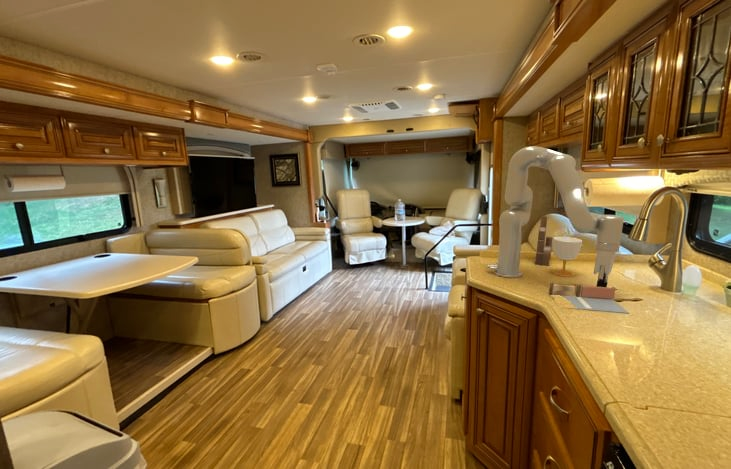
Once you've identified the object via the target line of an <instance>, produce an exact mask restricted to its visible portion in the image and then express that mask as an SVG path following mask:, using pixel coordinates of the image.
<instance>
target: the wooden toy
mask: <svg viewBox="0 0 731 469" xmlns="http://www.w3.org/2000/svg"><path fill="white" fill-rule="evenodd" d="M547 222H548V216H547V215H542V216H541V217H540V225H539V227H538V233H537V235H538V236H537V245H536V253H535V260H534V261H535V263H534V265H536V266H537V265H538V266H545V267H550V261H551V258H552V251H553V238H554V237H553V236H546V234H547V226H548V223H547Z"/></svg>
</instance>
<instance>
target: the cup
mask: <svg viewBox="0 0 731 469" xmlns="http://www.w3.org/2000/svg"><path fill="white" fill-rule="evenodd" d="M582 243H583V240H582V239H579V238H576V237H572V236H571V237H569V236H554V237H553V241H552V251H553V254H554V256H555V257H556V258H557V259H559V260H561V261H562V262H563V264H562V269H561V270H553V271H552V273H553V275H556V276H558V277H564V278H565V277H566V278H573V277H574V276H575V274H574V273H573V272H571V271H567V270H566V265H567V262H570V261H572V260H575V259H577V258H578V256H579V254H580V251H581V248H582Z"/></svg>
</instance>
